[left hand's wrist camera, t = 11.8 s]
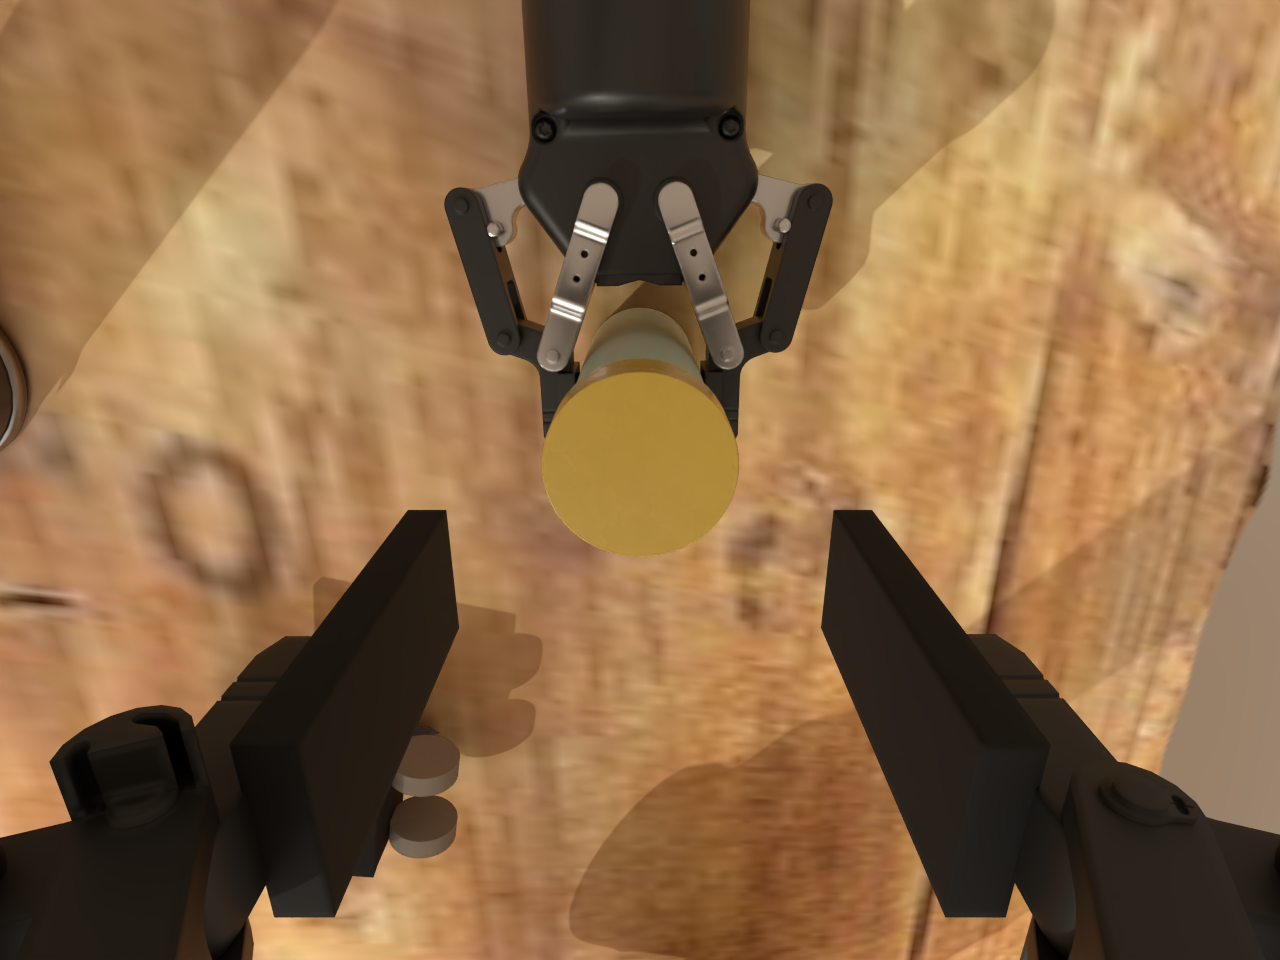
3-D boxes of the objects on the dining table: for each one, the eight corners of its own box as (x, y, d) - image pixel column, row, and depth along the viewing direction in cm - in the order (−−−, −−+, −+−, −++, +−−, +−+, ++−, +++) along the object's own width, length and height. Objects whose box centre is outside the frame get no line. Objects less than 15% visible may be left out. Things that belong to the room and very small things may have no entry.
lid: (685, 556, 23) (688, 583, 21) (523, 493, 22) (513, 516, 20) (763, 402, 21) (773, 419, 19) (589, 327, 20) (584, 338, 19)
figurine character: (471, 689, 43) (201, 676, 40) (455, 786, 36) (127, 778, 33) (465, 775, 45) (210, 768, 43) (449, 882, 38) (142, 881, 36)
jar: (666, 425, 35) (682, 564, 22) (573, 386, 35) (528, 505, 21) (709, 332, 34) (756, 420, 20) (612, 290, 33) (592, 350, 19)
